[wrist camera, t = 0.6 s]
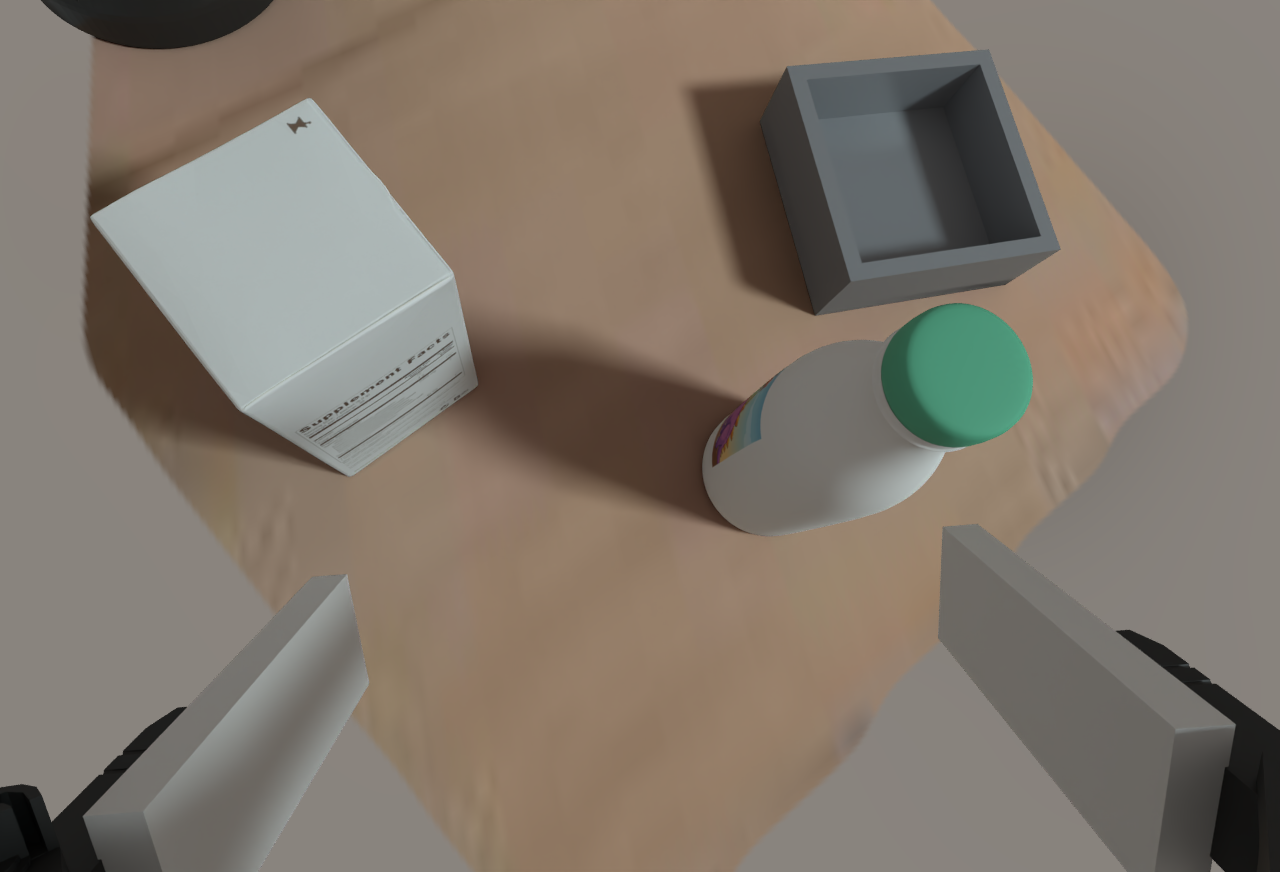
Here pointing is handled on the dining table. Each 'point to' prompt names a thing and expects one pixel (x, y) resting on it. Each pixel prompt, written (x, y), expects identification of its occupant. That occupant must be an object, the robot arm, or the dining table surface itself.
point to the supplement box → (300, 288)
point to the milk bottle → (866, 421)
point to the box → (904, 179)
